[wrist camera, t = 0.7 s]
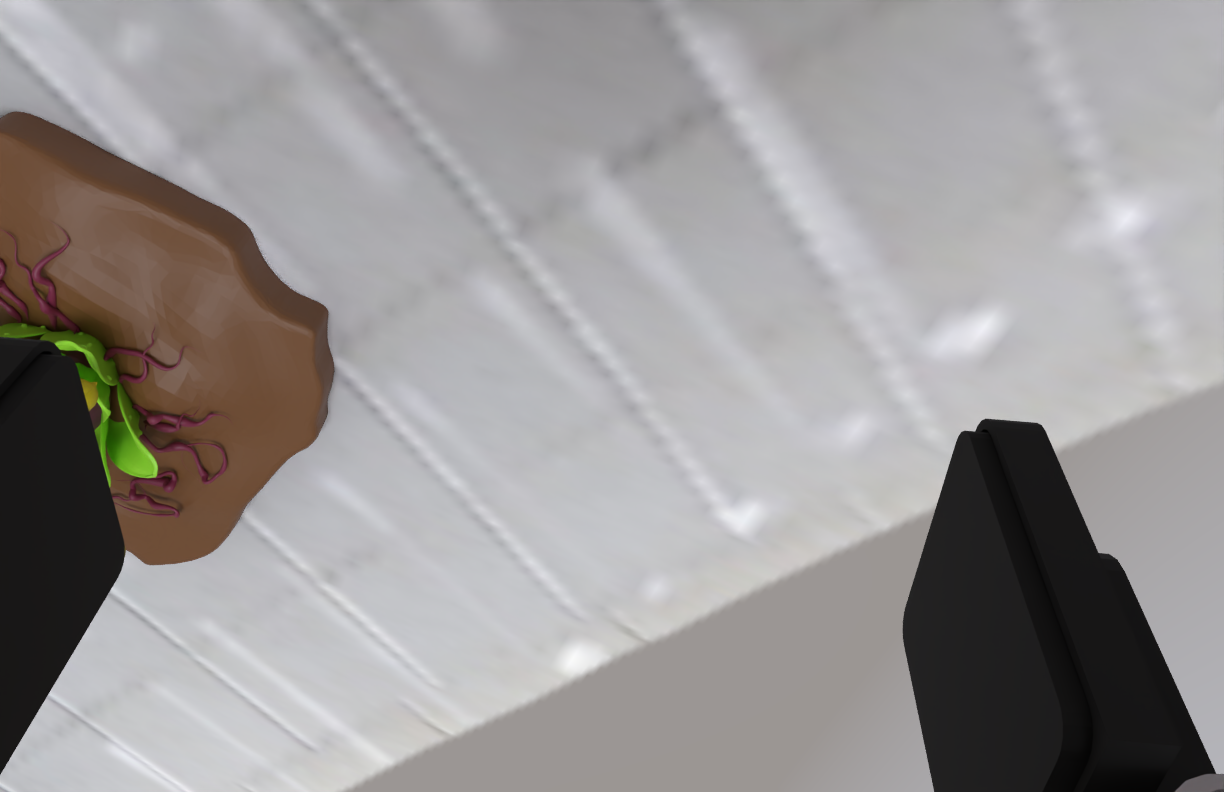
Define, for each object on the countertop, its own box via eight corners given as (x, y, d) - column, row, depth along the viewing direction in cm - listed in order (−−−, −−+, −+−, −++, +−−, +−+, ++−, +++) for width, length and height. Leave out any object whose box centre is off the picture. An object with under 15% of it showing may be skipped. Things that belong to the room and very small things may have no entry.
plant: (-40, 13, 39) (-261, 131, 30) (405, 331, 46) (334, 507, 37) (-211, 353, 49) (-419, 522, 40) (180, 576, 55) (79, 765, 46)
